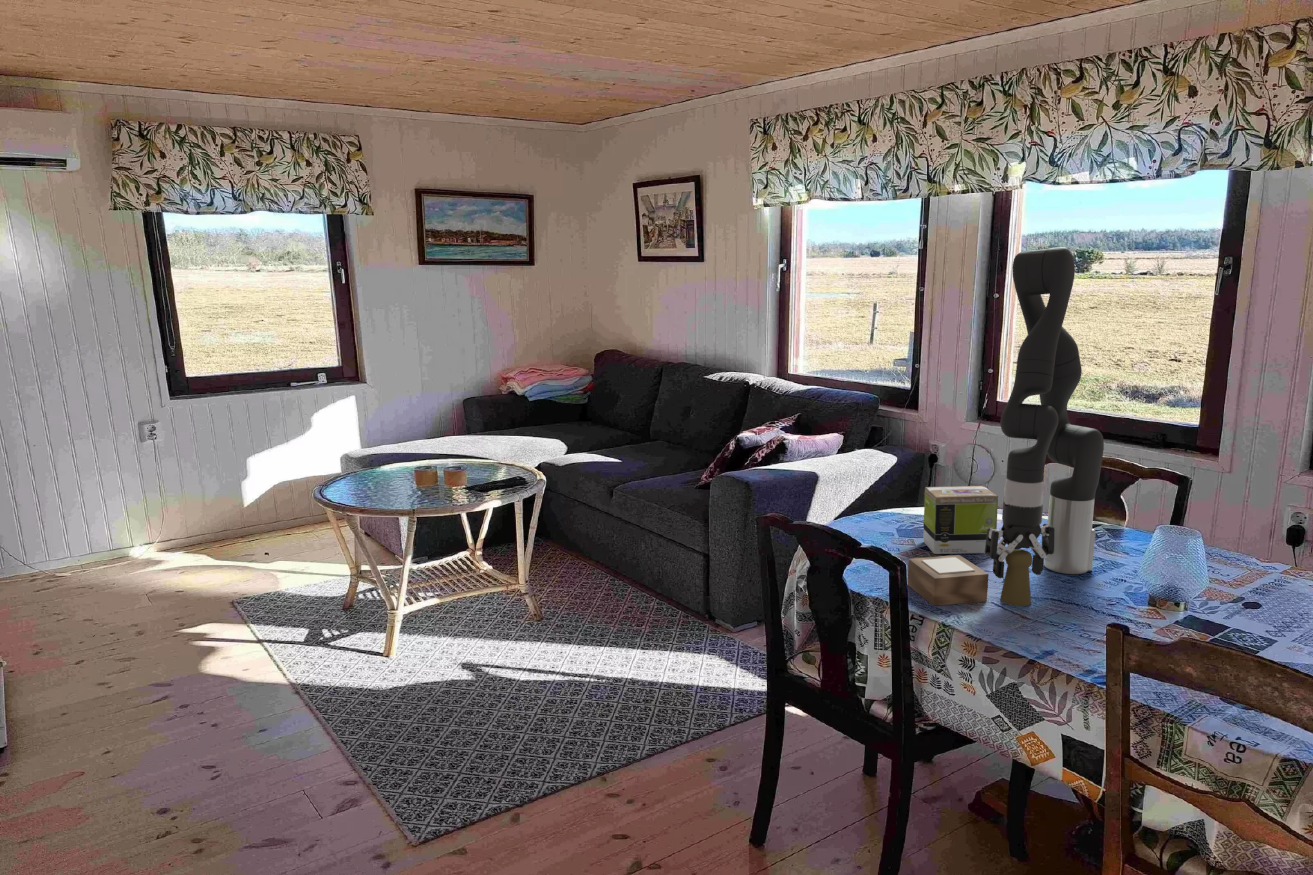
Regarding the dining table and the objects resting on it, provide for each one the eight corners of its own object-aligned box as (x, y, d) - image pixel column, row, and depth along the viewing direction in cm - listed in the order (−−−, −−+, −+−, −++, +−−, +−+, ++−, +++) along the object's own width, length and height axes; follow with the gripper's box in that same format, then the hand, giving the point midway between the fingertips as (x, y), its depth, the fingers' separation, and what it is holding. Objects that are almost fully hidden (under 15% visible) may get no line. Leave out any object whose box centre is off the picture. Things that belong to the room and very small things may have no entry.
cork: (1034, 607, 180) (1038, 556, 178) (1002, 605, 181) (1006, 554, 179) (1027, 596, 186) (1031, 546, 184) (997, 594, 187) (1001, 545, 185)
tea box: (981, 541, 221) (985, 484, 218) (995, 554, 211) (1000, 495, 208) (921, 541, 221) (924, 485, 218) (933, 555, 212) (936, 496, 208)
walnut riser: (957, 580, 195) (959, 553, 194) (986, 601, 184) (988, 572, 182) (907, 584, 193) (908, 557, 192) (933, 605, 182) (935, 577, 180)
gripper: (1043, 493, 184) (1037, 566, 187) (981, 497, 182) (976, 571, 185) (1066, 503, 177) (1059, 579, 180) (1001, 507, 174) (995, 584, 178)
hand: (1017, 575), depth 182 cm, fingers open, 8 cm apart
